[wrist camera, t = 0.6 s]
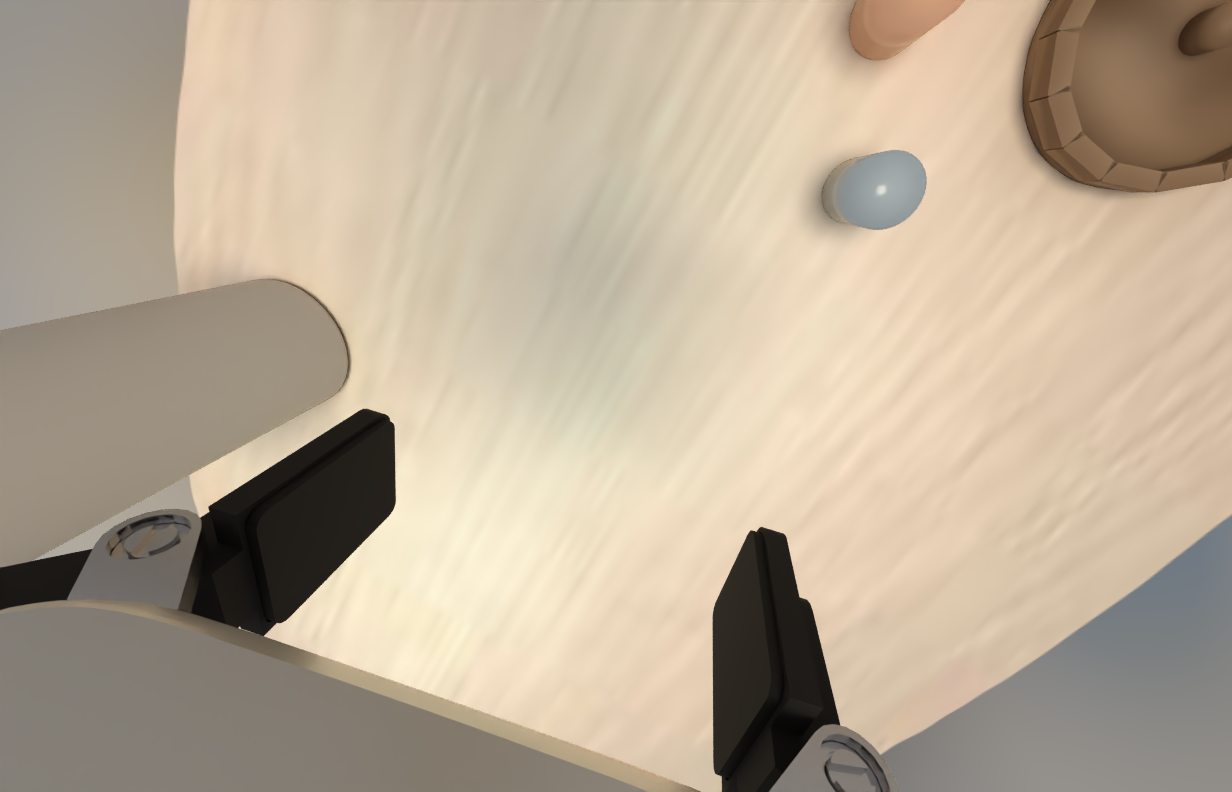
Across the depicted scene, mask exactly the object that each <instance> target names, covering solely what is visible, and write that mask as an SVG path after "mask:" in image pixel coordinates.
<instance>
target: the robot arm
mask: <svg viewBox="0 0 1232 792" xmlns="http://www.w3.org/2000/svg"><path fill="white" fill-rule="evenodd" d="M395 502H396V488H395V428H394V424H393V423H392V422H390V418H389V417H388V416H387V415H386V414H382V413H379V412H376V411H372V410H369V409H362V410H360V411H358V412H357V413H355V414H354V415H352V416H350V417H349V418H347V419H346V420H344V421H343V422H341V423H339V424H338V425H336V426H335V427H333V428H332V429H330V430H328V431H327V432H325V433H324V434H322V435H321V436H319V437H317V438H316V439H314V440H313V441H311V442H309V443H308V444H306V445H305V446H303V447H302V448H300V449H298V450H297V451H295V452H294V453H292V454H291V455H289V456H287V457H286V458H284V459H283V460H281V461H280V462H278V463H276V464H275V465H273V466H272V467H270V468H269V469H267V470H265V471H264V472H262V473H261V474H259V475H258V476H256V477H254V478H253V479H251V480H250V481H248V482H247V483H245V484H243V485H242V486H240V487H239V488H237V489H235V490H234V491H232V492H231V493H229V494H228V495H226V496H224V497H223V498H221V499H220V500H218V501H217V502H215V503H213V504H212V505H210V506H209V507H208V508H209V511H210V512H208V513H207V514H205V515H204V516H202V517H201V518H199V516H198V515H197V514H195V513H193V512H190V511H188V510H180V509H165V510H158V511H153V512H148V513H144V514H141V515H138V516H136V517H133V518H130V519H127V520H126V521H124V522H122V523H120V524H118V525H116V526H114V527H113V528H111V529H110V530H109V531H107V532H106V533H105V534H103V535H102V536H101V538H100V539H99V540H98V542H97V543H96V544H95V546H94V548H93V549H90V550H85V551H80V552H75V553H70V554H65V555H60V556H55V557H50V558H46V559H40V560H35V561H30V562H25V563H20V564H15V565H10V566H5V567H0V792H700V791H698V790H695V789H693V788H691V787H688V786H686V785H683V784H680V783H678V782H675V781H672V780H670V779H667V778H664V777H662V776H659V775H656V774H654V773H651V772H648V771H646V770H643V769H640V768H638V767H635V766H632V765H630V764H627V763H624V762H622V761H619V760H616V759H614V758H611V757H608V756H605V755H602V754H600V753H597V752H594V751H591V750H588V749H586V748H583V747H580V746H577V745H574V744H571V743H569V742H566V741H563V740H560V739H557V738H555V737H552V736H549V735H546V734H543V733H540V732H538V731H535V730H532V729H529V728H526V727H524V726H521V725H518V724H515V723H512V722H509V721H507V720H504V719H501V718H498V717H495V716H492V715H490V714H487V713H484V712H481V711H478V710H475V709H472V708H470V707H467V706H464V705H461V704H458V703H455V702H452V701H450V700H447V699H444V698H441V697H438V696H435V695H432V694H429V693H427V692H424V691H421V690H418V689H415V688H412V687H409V686H406V685H404V684H401V683H398V682H395V681H392V680H389V679H386V678H383V677H381V676H378V675H375V674H372V673H369V672H366V671H363V670H360V669H357V668H354V667H351V666H349V665H346V664H343V663H340V662H337V661H334V660H331V659H328V658H325V657H322V656H319V655H316V654H313V653H311V652H308V651H305V650H302V649H299V648H296V647H293V646H290V645H287V644H284V643H281V642H278V641H275V640H272V639H270V638H267V637H264V635H265V634H266V633H267V632H268V631H269V630H270V629H271V628H272V627H273V626H274V625H275V624H276V623H282V622H284V621H286V620H287V619H288V618H289V617H290V616H291V615H292V614H293V613H294V612H295V611H296V610H297V609H298V608H299V607H300V606H301V605H302V604H303V603H304V602H305V601H306V600H307V599H308V598H309V597H310V596H311V595H312V594H313V593H314V592H315V591H316V590H317V589H318V588H319V587H320V586H321V585H322V584H323V583H324V582H325V581H326V580H327V579H328V577H329V576H330V575H331V574H332V573H333V572H334V571H335V570H336V569H337V568H338V567H339V566H340V565H341V564H342V563H343V562H344V561H345V560H346V559H347V558H348V557H349V556H350V555H351V554H352V553H353V552H354V551H355V550H356V549H357V548H358V547H359V546H360V545H361V544H362V543H363V542H364V541H365V540H366V539H367V538H368V537H369V536H370V535H371V534H372V533H373V532H374V531H375V530H376V529H377V528H378V526H379V525H380V524H381V523H382V522H383V521H384V520H385V519H386V518H387V517H388V516H389V515H390V514H391V512H392V511H393V509H394V507H395ZM238 627H241V629H239V628H238ZM242 629H244V630H242ZM245 630H247V631H245ZM248 631H250V632H248ZM251 632H253V633H251ZM254 633H256V634H254ZM257 634H259V635H257ZM713 762H714V771H715V774H717V775H720V776H722V792H899V790H898V787H897V784H896V781H895V779H894V776H893V774H892V772H891V771H890V769H889V767H888V765H887V764H886V762H885V760H884V759H883V758H882V756H881V755H880V754H879V753H878V752H877V751H876V749H875V748H874V747H873V746H872V745H871V744H870V743H869V742H868V741H866V740H865V739H864V738H863V737H862V736H860V735H859V734H858V733H856V732H854V731H852V730H850V729H849V728H847V727H844V726H840V722H839V718H838V714H837V709H836V705H835V701H834V697H833V693H832V689H831V685H830V681H829V676H828V672H827V668H826V664H825V660H824V656H823V652H822V647H821V643H820V639H819V635H818V631H817V627H816V623H815V619H814V614H813V610H812V608H811V605H810V603H809V602H808V600H806V599H803V598H800V597H799V593H798V589H797V584H796V580H795V575H794V570H793V566H792V561H791V557H790V552H789V547H788V543H787V538H786V536H785V534H783V533H780V532H776V531H773V530H770V529H766V528H763V527H760V528H759V529H758V530H757V532H755V531H750V532H749V533H748V535H747V537H746V540H745V542H744V544H743V546H742V548H741V550H740V552H739V554H738V556H737V559H736V561H735V563H734V565H733V567H732V569H731V571H730V573H729V575H728V578H727V580H726V582H725V584H724V586H723V588H722V590H721V592H720V594H719V597H718V599H717V601H716V603H715V606H714V611H713Z"/></svg>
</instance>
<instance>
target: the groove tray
mask: <svg viewBox="0 0 1232 792" xmlns="http://www.w3.org/2000/svg"><path fill="white" fill-rule="evenodd" d="M1023 106H1024V115H1025V119H1026V123H1027V128H1028V130H1029V133H1030V135H1031V138H1032V140H1033V142H1034V144H1035V146H1036V147H1037V149H1038V150H1039V152H1040V153H1041V155H1042V156H1043V157H1044V158H1045V159H1046V160H1047V161H1048V162H1049V163H1050V165H1051V166H1052V167H1054V168H1055V169H1057V170H1058V171H1059V172H1061V173H1062V174H1064V175H1065V176H1067V177H1069V178H1071V179H1073V180H1076V181H1078V182H1080V183H1084V184H1087V185H1090V186H1094V187H1100V188H1107V189H1119V190H1123V191H1128V192H1161V191H1167V190H1173V189H1179V188H1185V187H1191V186H1197V185H1203V184H1209V183H1215V182H1221V181H1225V180H1227V179H1230V178H1232V0H1051V1H1050V3H1049V4H1048V6H1047V8H1046V10H1045V12H1044V14H1043V16H1042V19H1041V21H1040V23H1039V25H1038V28H1037V30H1036V32H1035V35H1034V38H1033V41H1032V44H1031V47H1030V51H1029V54H1028V58H1027V63H1026V68H1025V73H1024V83H1023Z"/></svg>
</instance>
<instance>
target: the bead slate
mask: <svg viewBox="0 0 1232 792" xmlns="http://www.w3.org/2000/svg"><path fill="white" fill-rule="evenodd" d="M925 190H926V173H925V169H924V167H923V165H922V163H921V162H920V161H919V160H918V159H917V158H916V157H915V156H914V155H912V154H910V153H908V152H905V151H900V150H891V151H885V152H880V153H876V154H871V155H867V156H862V157H858V158H854V159H850V160H848V161H845V162H844V163H842V164H840V165H839V166H838V167H836V168H835V169H834V170H833V171H832V172H831V174H830V175H829V176H828V178H827V180H826V182H825V184H824V187H823V192H822V202H823V206H824V209H825V210H826V212H827V213H828V215H829V216H830V217H831V218H833V219H834V220H837V221H839V222H843V223H847V224H851V225H855V226H859V227H863V228H868V229H873V230H881V229H887V228H890V227H893V226H896V225H898V224H900V223H901V222H903V221H904V220H906V219H907V218H908V217H909V216H910V215H911V214H912V213H913V212H914V211H915V210H916V209H917V207H918V206H919V204H920V202H921V201H922V199H923V196H924V193H925Z"/></svg>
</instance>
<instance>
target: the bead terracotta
mask: <svg viewBox="0 0 1232 792" xmlns="http://www.w3.org/2000/svg"><path fill="white" fill-rule="evenodd" d="M964 1H965V0H858V1H857V2H856V4H855V6H854V9H853V11H852V14H851V17H850V23H849V35H850V40H851V43H852V45H853V47H854V49H855V50H856V51H857V52H858V53H859V54H860V55H861V56H863V57H865V58H867V59H870V60H883V59H887V58H890V57H892V56H894V55H896V54H898V53H899V52H901V51H902V50H903V49H905V48H906V47H907V46H909V45H910V44H912V43H913V42H914V41H916V40H917V39H918V38H920V37H921V36H923V35H924V34H925V33H927V32H928V31H929V30H931V29H932V28H934V27H935V26H936V25H938V24H939V23H940V22H942V21H943V20H945V19H946V18H947V17H949V16H950V15H951V14H952V13H954V12H955V11H956V10H957V9H958V8H959V7H960V6H961V5H962V3H963V2H964Z"/></svg>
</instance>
